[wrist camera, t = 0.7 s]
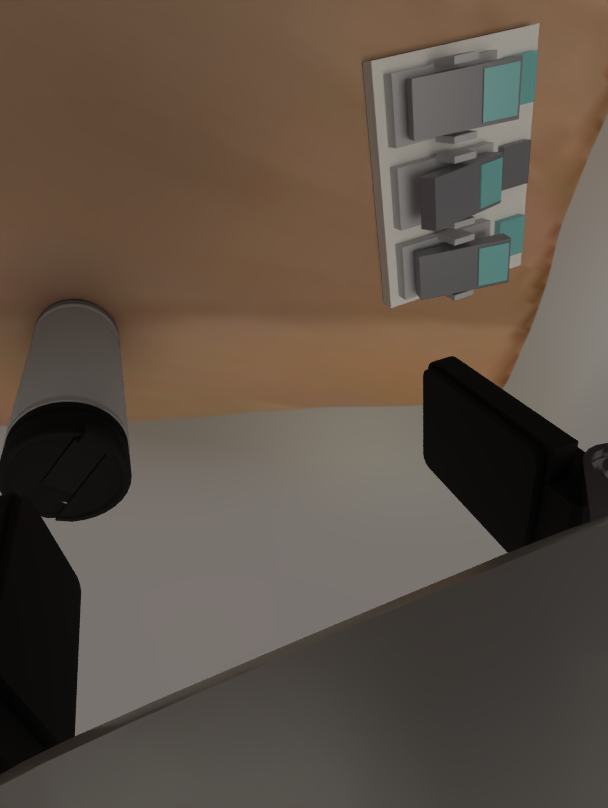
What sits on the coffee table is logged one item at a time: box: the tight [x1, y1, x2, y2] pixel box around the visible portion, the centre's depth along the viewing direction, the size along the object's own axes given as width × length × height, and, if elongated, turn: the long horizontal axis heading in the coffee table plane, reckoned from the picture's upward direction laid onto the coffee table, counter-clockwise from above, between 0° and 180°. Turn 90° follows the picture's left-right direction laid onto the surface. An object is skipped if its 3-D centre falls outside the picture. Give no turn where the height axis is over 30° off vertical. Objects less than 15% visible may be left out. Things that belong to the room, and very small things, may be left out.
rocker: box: [414, 233, 511, 300], centre depth 44 cm, size 4×8×2 cm, turn 101°
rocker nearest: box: [406, 55, 523, 141], centre depth 37 cm, size 4×8×2 cm, turn 101°
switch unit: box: [362, 24, 539, 308], centre depth 42 cm, size 20×15×5 cm
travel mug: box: [0, 300, 132, 522], centre depth 32 cm, size 6×7×20 cm
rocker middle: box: [419, 152, 503, 231], centre depth 40 cm, size 4×8×2 cm, turn 101°
